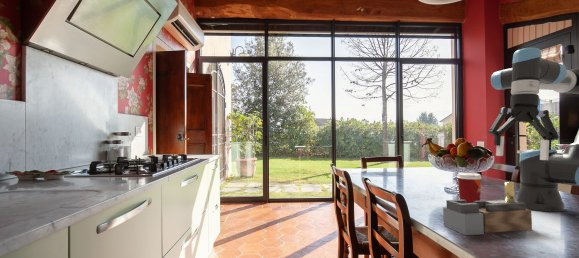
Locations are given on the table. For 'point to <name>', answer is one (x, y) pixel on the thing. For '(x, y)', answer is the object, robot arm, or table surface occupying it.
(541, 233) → the table surface
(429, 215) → the table surface
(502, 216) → the door
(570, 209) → the table surface
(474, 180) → the coffee cup
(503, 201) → the white and gold piece
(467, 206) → the bracket
